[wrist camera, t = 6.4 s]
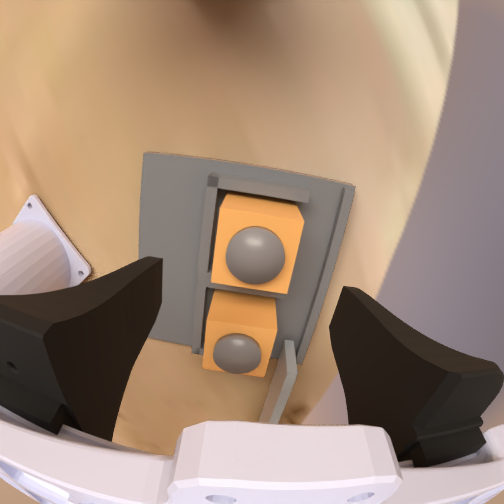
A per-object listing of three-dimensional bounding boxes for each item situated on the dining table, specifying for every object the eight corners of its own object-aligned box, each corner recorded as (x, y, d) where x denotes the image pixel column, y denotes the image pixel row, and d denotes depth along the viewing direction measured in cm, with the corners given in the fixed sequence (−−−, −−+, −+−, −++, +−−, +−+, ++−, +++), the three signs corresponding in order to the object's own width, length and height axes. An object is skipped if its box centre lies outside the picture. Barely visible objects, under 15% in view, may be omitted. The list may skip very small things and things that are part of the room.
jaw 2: (264, 338, 22) (264, 383, 18) (210, 330, 22) (200, 374, 17) (274, 293, 20) (278, 336, 16) (215, 284, 20) (205, 326, 16)
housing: (301, 354, 23) (304, 374, 21) (144, 329, 23) (135, 347, 21) (351, 184, 18) (363, 191, 16) (148, 151, 17) (134, 155, 15)
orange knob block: (282, 261, 19) (287, 299, 15) (220, 251, 19) (209, 288, 15) (295, 201, 18) (306, 225, 14) (228, 190, 18) (218, 211, 13)
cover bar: (281, 431, 26) (282, 459, 23) (252, 429, 26) (251, 457, 23) (318, 343, 22) (325, 376, 18) (279, 339, 21) (282, 372, 18)
